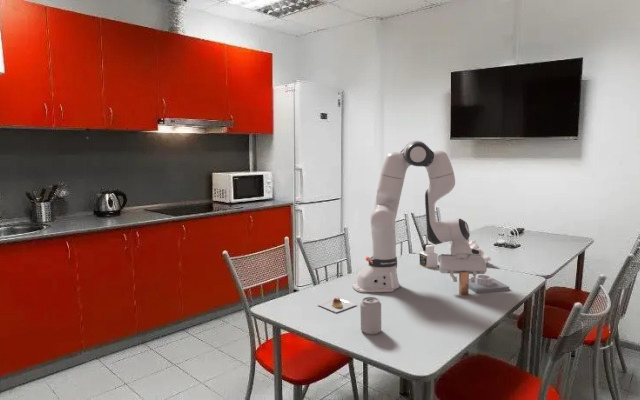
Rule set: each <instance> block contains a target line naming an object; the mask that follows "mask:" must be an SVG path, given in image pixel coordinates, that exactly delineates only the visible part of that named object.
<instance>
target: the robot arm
mask: <svg viewBox="0 0 640 400" xmlns="http://www.w3.org/2000/svg"><path fill="white" fill-rule="evenodd" d="M410 166H413V167H424V168H425V169H426V172H427V175H428V180H429V184H428V185H429V186H428V189H426V190H425V194H424V207H425V219H426V220H425V221H426V231H425V232H426V233H425V234H426V239H427V240H428V242H429V243H430V244H432V245H434V246H435V245H439V244H440V245H441V244H443V243H449V244H450V253H446V254H444V253H441V254H440V255H439V254H438V262H439V266H438V267H439V272H440V274H449V276H450V278H452V281H453V282H454V283H458V278H457V276H455V274H459V272H460V271H467V272H469V275H472V276H471V277H470V279H471V282H475V277H476V275H480V274H481V275H482V274H484V275H486V273H487V270H488V269H487V263H485V260H484V258H483V257H482V256H481V255H482V252H481V251H480V250H476V249H472V248H470V246H469V242H470V235H471V234H470V227H469V225H468V223H467V221H465V220H464V219H462V218H453V219H449V220H445V221H443V220H442V221H436V207H435V206H436V203H437V202H438V201H439V200H440V199H442V198H443V197H445V196H446V195H448V194H449V193H451V191H452V190H453V189H454V187H455V185H456V177H455V173H454V169H453V165H452V163H451V160H450V158H449V155H448V154H447V152H445V151H442V150H435V151H433V150H432V149H431V148H430V147H429V146H428V145H427V144H425V142H423V141H422V140H421V141H420V140H414V141H411V142H408V143H407V144H406V145H405V146H404V148H403V149H402V150H401V151H400V152H399V151H392V152H390V153H388V154H387V155H386V157H385V159H384V161H383V164H382V168H381V172H380V175H379V180H378V185H377V190H376V198H375V202H374V203H375V204H374V208H373V211H372V212H371V214H370V230H371V241H372V247H371V249H372V254H371V255H372V256H371V257H369V256H366V257H365V260H366V262H368V264H367V265H366V266H365V267H363V269H361V270H359V272H358V273H357V276H356V281H355V280H354V281H353V282H352V283H351V284H352V286H351V287H352V288H353V289H354V290H355V291H356V292H358V293H391V292H392V293H393V292H394V291H395V290H396V289H398V288H399V287H400V286H401V285H400V282H399V278H398V271H397V268H398V257H397V240H396V238H397V236H396V219H397V214H398V211H399V204H400V202H401V196H402V191H403V187H404V182H405V177H406V173H407V171H408V168H409V167H410Z"/></svg>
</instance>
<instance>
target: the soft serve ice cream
mask: <svg viewBox="0 0 640 400" xmlns="http://www.w3.org/2000/svg"><path fill="white" fill-rule="evenodd" d="M469 246H470V248H472V249H476V250H480V251H481V252H482V255H481V256H482V257H483V258H484V260H485V263H486V264H487V263H488V262H490V261H491V260H492V259H491V256H490V255H487V254H485V253H484V251H483V250H482V249H481V247H480V246H479V245H478V244H477V241H476V240H474V239H470V240H469Z"/></svg>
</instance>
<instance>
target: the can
mask: <svg viewBox="0 0 640 400" xmlns="http://www.w3.org/2000/svg"><path fill="white" fill-rule="evenodd" d="M359 307H360V330H361V331H362V332H363V333H364V334H365V335H368V336H369V335H370V336H372V335H377V334H379V333H380V332H381V331H382V303H381V302H380V299H379V298H378V297H376V296H366V297H363V298H362V299H361V302H360V305H359Z"/></svg>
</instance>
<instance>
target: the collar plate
mask: <svg viewBox="0 0 640 400" xmlns="http://www.w3.org/2000/svg"><path fill="white" fill-rule="evenodd" d="M469 290H471V291H473V292H475V293H476V294H483V293H492V292H500V291H501V292H502V291H503V292H504V291H510V286H509V285H507V284H505V283H503V282H501V281H499V280H497V279H495V278H494V277H493V276H492V275H489V274H477V275H476V277H475V282H471V278H469Z"/></svg>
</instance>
